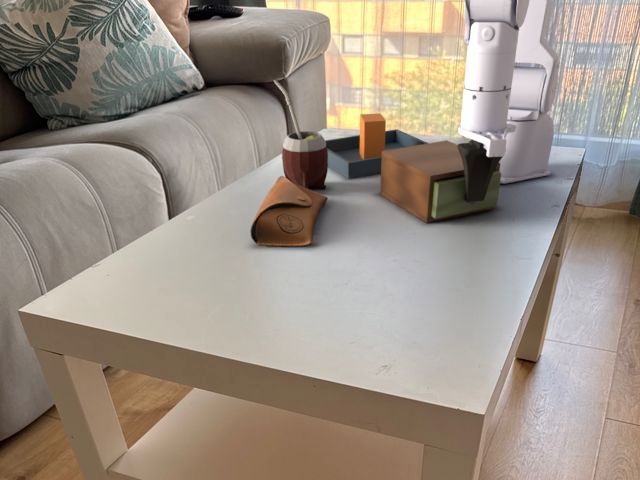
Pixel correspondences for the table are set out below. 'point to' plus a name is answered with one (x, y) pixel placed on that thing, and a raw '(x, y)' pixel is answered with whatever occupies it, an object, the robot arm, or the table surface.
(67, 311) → the table surface
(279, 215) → the sunglasses case
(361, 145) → the orange wooden block
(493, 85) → the robot arm
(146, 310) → the table surface
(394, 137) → the tray
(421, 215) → the cabinet
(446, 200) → the drawer
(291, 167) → the mate gourd
